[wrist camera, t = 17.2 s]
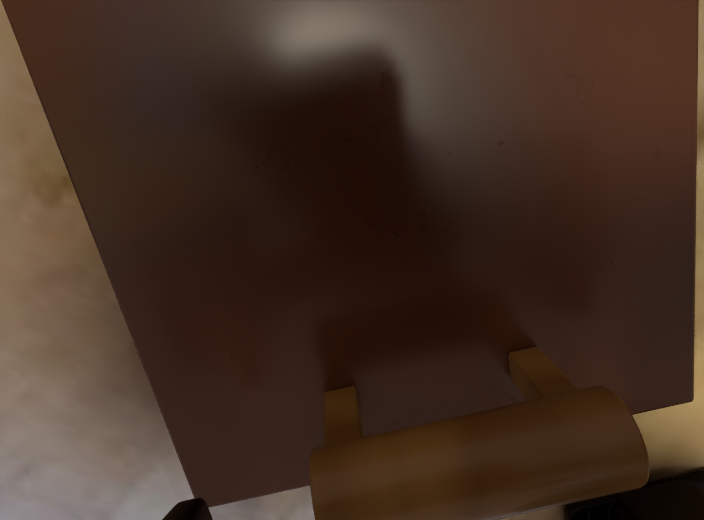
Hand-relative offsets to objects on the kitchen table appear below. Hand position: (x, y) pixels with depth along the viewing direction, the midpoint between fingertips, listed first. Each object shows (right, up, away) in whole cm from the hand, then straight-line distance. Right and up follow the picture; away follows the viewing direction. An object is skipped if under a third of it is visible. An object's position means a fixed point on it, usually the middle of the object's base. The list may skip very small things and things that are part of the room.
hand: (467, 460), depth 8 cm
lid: (-1, +4, +2) cm, 5 cm away
